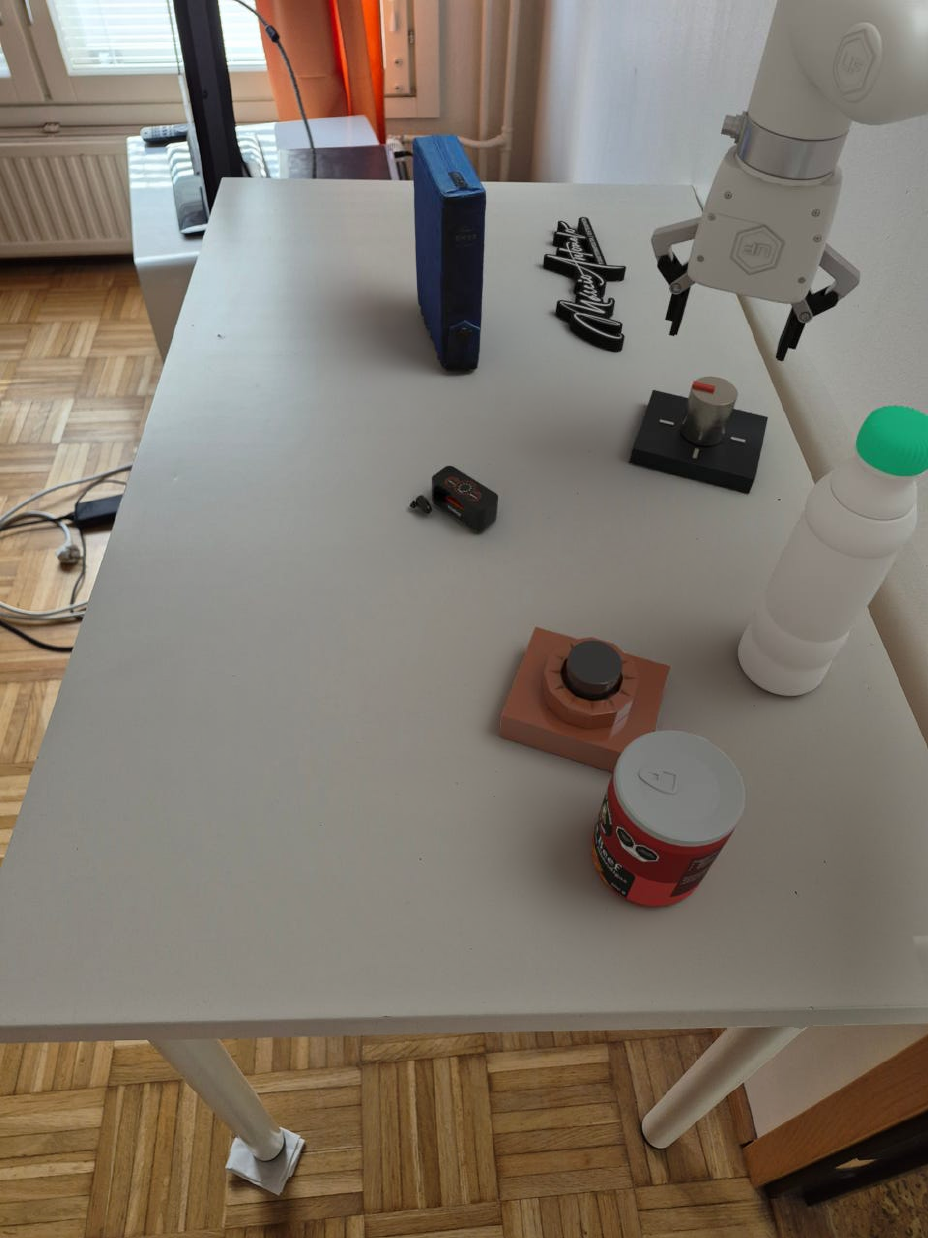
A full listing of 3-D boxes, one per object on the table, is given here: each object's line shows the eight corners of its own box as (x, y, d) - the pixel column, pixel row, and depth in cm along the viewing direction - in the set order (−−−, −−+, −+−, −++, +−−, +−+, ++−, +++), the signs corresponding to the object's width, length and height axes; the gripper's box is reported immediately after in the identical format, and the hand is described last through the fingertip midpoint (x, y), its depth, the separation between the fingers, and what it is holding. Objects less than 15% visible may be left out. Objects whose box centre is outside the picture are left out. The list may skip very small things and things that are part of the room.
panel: (762, 431, 92) (768, 415, 90) (749, 494, 86) (755, 477, 84) (649, 404, 94) (653, 387, 92) (628, 463, 88) (632, 446, 86)
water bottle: (788, 715, 70) (929, 479, 51) (718, 659, 73) (825, 418, 54) (838, 668, 73) (990, 430, 54) (769, 617, 76) (888, 374, 57)
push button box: (662, 687, 71) (676, 650, 67) (638, 781, 66) (651, 746, 62) (531, 648, 73) (537, 610, 69) (498, 736, 68) (503, 700, 64)
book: (485, 374, 96) (497, 190, 81) (438, 380, 95) (440, 195, 80) (455, 301, 105) (460, 122, 89) (411, 306, 104) (408, 126, 88)
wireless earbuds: (442, 485, 85) (442, 459, 83) (498, 521, 82) (501, 496, 80) (408, 510, 83) (408, 484, 80) (465, 548, 80) (467, 523, 78)
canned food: (585, 805, 65) (610, 725, 56) (694, 810, 65) (736, 731, 56) (591, 908, 60) (619, 839, 51) (709, 913, 60) (757, 845, 51)
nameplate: (657, 338, 99) (569, 342, 98) (654, 350, 100) (568, 353, 99) (604, 215, 116) (529, 217, 115) (602, 227, 117) (528, 229, 116)
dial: (727, 423, 89) (741, 379, 85) (720, 450, 87) (735, 406, 83) (684, 413, 90) (696, 369, 86) (676, 439, 88) (688, 395, 83)
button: (622, 665, 67) (627, 649, 65) (610, 707, 65) (615, 691, 63) (571, 650, 68) (575, 633, 66) (558, 690, 65) (561, 675, 64)
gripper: (667, 142, 66) (625, 340, 79) (906, 189, 63) (820, 386, 76) (685, 103, 70) (642, 297, 84) (909, 144, 67) (827, 339, 81)
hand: (727, 339), depth 80 cm, fingers open, 9 cm apart
